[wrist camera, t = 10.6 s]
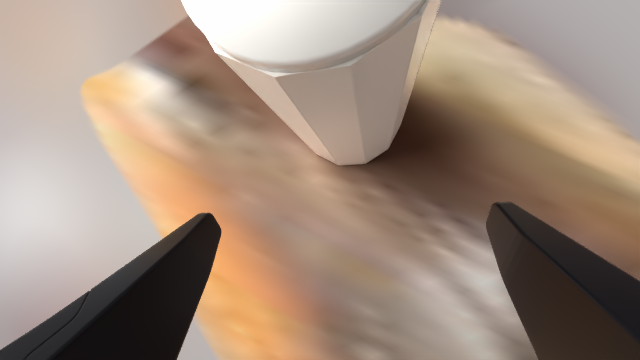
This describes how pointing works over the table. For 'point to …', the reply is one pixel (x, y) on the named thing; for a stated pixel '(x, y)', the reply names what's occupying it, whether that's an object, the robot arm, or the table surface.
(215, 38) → the white rounded tall piece
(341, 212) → the table surface
